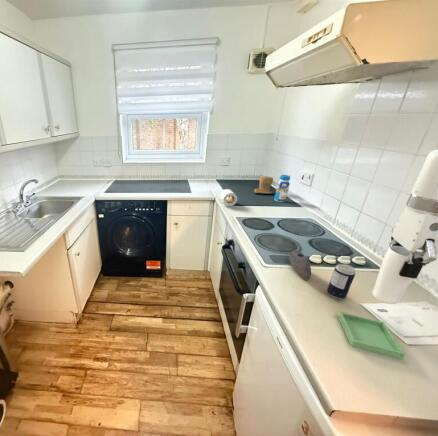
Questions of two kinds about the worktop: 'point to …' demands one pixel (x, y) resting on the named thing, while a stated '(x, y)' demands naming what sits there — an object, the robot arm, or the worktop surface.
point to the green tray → (370, 335)
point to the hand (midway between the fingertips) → (399, 268)
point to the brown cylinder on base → (264, 185)
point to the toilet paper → (231, 200)
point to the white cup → (392, 276)
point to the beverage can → (341, 281)
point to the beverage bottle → (282, 188)
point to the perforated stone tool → (300, 264)
